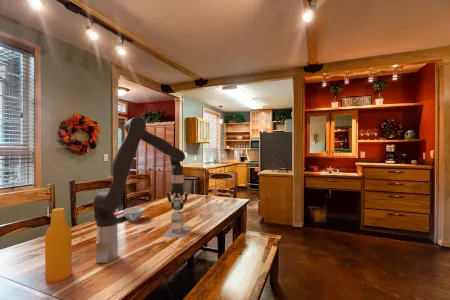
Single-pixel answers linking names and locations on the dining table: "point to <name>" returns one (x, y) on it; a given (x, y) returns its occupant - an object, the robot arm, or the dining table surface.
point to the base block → (177, 227)
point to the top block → (178, 217)
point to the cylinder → (177, 205)
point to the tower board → (182, 234)
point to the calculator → (120, 217)
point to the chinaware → (133, 213)
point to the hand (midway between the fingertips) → (177, 208)
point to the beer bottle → (58, 248)
